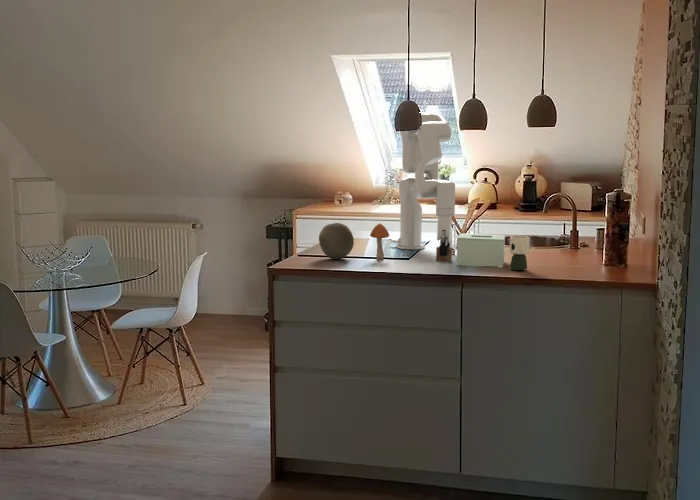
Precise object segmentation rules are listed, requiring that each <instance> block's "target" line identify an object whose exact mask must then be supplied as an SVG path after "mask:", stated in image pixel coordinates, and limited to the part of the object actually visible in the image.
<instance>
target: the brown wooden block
mask: <svg viewBox="0 0 700 500" xmlns="http://www.w3.org/2000/svg"><path fill="white" fill-rule="evenodd" d="M435 250H436V252H435V253H436V256H435V262H448V263H449V262H452V259H453V248H452V246H450V247H448V252H447V256H440V255H439V246H437V247H436V249H435Z"/></svg>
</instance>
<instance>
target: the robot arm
mask: <svg viewBox="0 0 700 500" xmlns="http://www.w3.org/2000/svg"><path fill="white" fill-rule="evenodd" d="M420 113H421V116H422V126H420V129H421V130H420V129H418V130H417V131H400V130H399V133H400V136H401V141H402V161H401V162H402V170H403V172H404V173H406V174H412V175H414V176H407V177H403V178H402V179H401V180H399V183H398V193H399V199H400V203H399V204H400V218H399V219H400V223H399V224H400V226H399V227H400V228H399V237H397V238H396V237H395V238H394V237H390V240H389V241H390V243H396V249H400V250H422V249H425V248H426V247H425V244H422V222H423V221H422V219H423V218H422V217H423V215H422V214H423V207H422V206H421V203H420V202H419V201H418V199H436V201H435V204H436V205H435V216H436V217H437V231H436V232H437V233H436V234H437V235H436V240H437V241H439V246H438V247H439V255H440V256H447V252H448V247H451V243H450V239H451V237H452V225H453V224H452V220H453V217H455V214H456V213H455V212H456V184H455V182H453V181H450V180H446V179H439V160H441V159H442V157H443V153H442V148H441V147H442V146H441V143H448V142H449V141H450V140H451V138H452V129H451V127H450V124H449V122H448V121H447V120H446V119H445V118H443V117H442V116H441V115H440V114H439V113H436V112H420Z"/></svg>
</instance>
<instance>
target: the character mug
mask: <svg viewBox="0 0 700 500" xmlns="http://www.w3.org/2000/svg"><path fill="white" fill-rule="evenodd" d="M509 242H510V243H509V252H510V253H511V254H512V256H511V261H510V270H512V269H513V270H514V271H518V270H520V271H521V270H528V264H527V257H526V255H528V254H529V252H530V251H529V250H530V236H528V235H527V236H526V235H510V239H509Z"/></svg>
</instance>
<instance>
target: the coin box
mask: <svg viewBox="0 0 700 500" xmlns="http://www.w3.org/2000/svg"><path fill="white" fill-rule="evenodd" d="M505 244H506V235H505V234H486V233H483V234H482V233H463V232H462V233H459V235H458V236H457V242H456V266H459V265H461V267H463V266H464V267H481V266H491V267H490V268H496V267H495V266H503V267H504V265H503V264H505V246H506V245H505ZM492 266H494V267H492Z"/></svg>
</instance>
